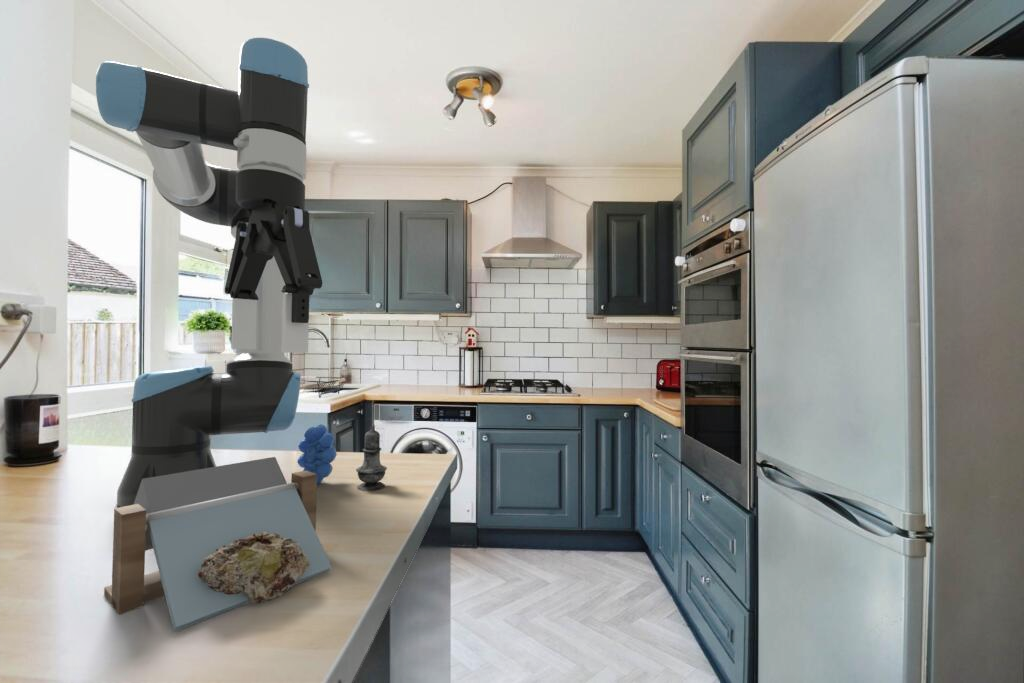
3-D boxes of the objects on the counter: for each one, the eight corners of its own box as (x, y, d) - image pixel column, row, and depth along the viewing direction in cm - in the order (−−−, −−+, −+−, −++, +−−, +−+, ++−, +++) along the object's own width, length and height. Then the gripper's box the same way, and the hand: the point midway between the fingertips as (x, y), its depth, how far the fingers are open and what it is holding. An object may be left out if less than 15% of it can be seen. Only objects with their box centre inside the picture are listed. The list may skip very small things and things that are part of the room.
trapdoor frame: (104, 594, 51) (107, 502, 52) (293, 536, 68) (294, 466, 68) (119, 614, 48) (122, 514, 48) (315, 547, 64) (316, 474, 64)
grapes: (352, 484, 94) (353, 424, 95) (321, 492, 89) (322, 428, 89) (319, 474, 101) (321, 418, 102) (289, 481, 96) (290, 422, 96)
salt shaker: (369, 493, 89) (371, 429, 89) (349, 487, 92) (350, 426, 92) (392, 485, 94) (394, 425, 94) (372, 481, 97) (373, 422, 97)
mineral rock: (306, 519, 58) (319, 569, 51) (296, 548, 59) (307, 600, 52) (203, 523, 51) (203, 581, 45) (194, 556, 52) (193, 616, 46)
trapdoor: (124, 517, 56) (138, 475, 53) (262, 488, 69) (280, 452, 66) (158, 666, 47) (176, 626, 44) (309, 601, 60) (332, 566, 57)
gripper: (199, 187, 62) (195, 347, 62) (291, 141, 47) (286, 354, 47) (258, 201, 68) (254, 347, 68) (357, 164, 53) (352, 354, 53)
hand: (267, 350), depth 58 cm, fingers open, 13 cm apart
